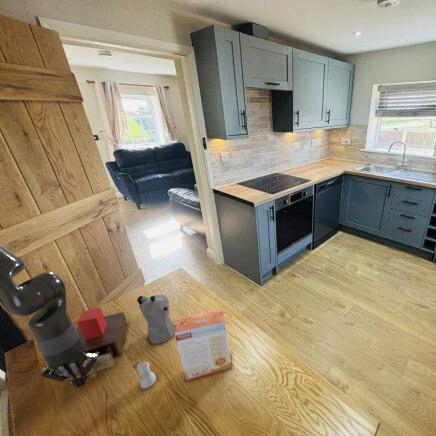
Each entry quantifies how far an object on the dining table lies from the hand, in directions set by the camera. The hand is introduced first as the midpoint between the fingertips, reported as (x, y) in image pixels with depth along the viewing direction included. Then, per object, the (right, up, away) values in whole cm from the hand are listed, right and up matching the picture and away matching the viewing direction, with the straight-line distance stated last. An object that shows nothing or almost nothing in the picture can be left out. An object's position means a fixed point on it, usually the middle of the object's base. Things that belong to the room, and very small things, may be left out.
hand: (81, 383), depth 70 cm
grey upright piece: (+12, +5, +21) cm, 24 cm away
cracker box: (+35, -1, +9) cm, 36 cm away
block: (-6, +9, +13) cm, 17 cm away
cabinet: (-7, +3, +16) cm, 17 cm away
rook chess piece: (+17, -3, +4) cm, 18 cm away
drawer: (-4, +1, +9) cm, 10 cm away
